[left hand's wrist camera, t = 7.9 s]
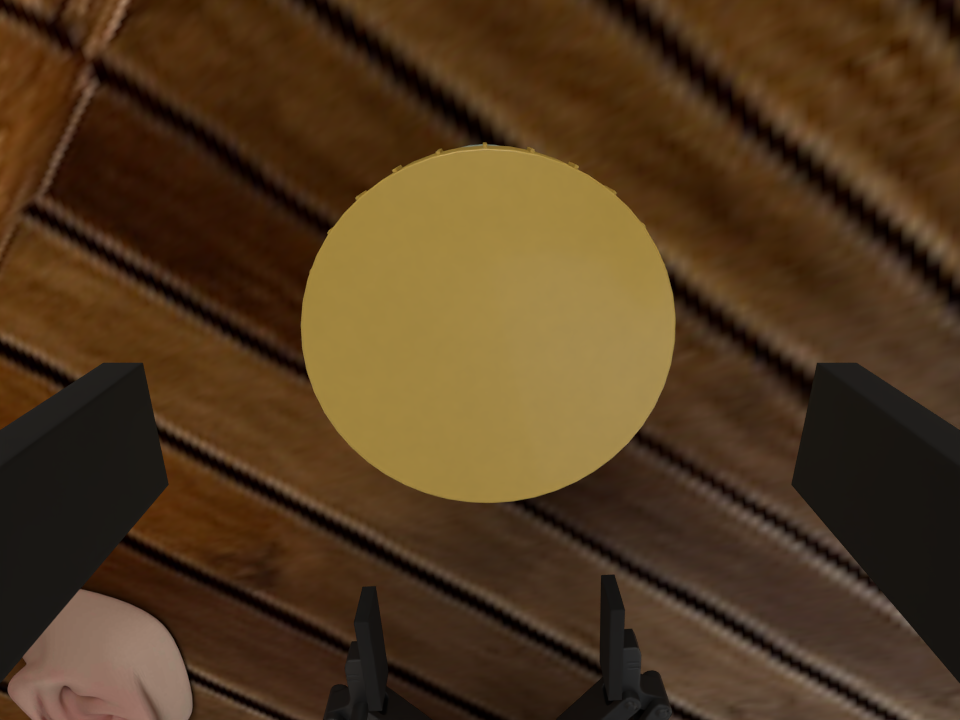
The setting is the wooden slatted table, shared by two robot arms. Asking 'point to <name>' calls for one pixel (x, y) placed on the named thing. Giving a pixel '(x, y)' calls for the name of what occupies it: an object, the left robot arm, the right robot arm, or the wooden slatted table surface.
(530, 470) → the lid
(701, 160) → the wooden slatted table surface
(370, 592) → the right robot arm
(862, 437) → the left robot arm
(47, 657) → the anatomical model
